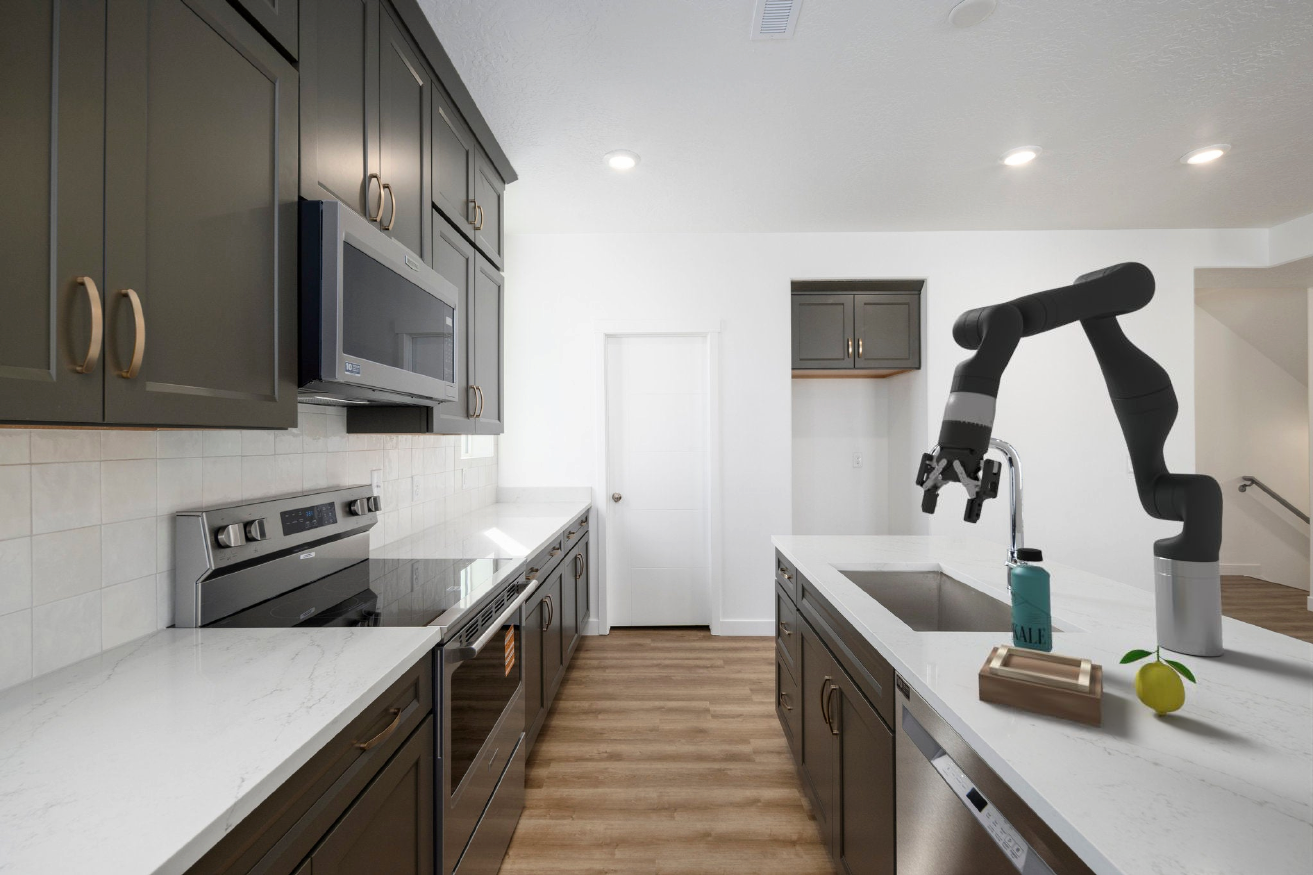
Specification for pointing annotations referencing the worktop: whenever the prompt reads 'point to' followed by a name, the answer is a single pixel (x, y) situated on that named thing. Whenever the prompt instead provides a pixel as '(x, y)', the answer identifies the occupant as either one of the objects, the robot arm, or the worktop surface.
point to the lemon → (1159, 682)
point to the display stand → (1043, 683)
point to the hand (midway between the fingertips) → (947, 517)
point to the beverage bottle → (1031, 603)
